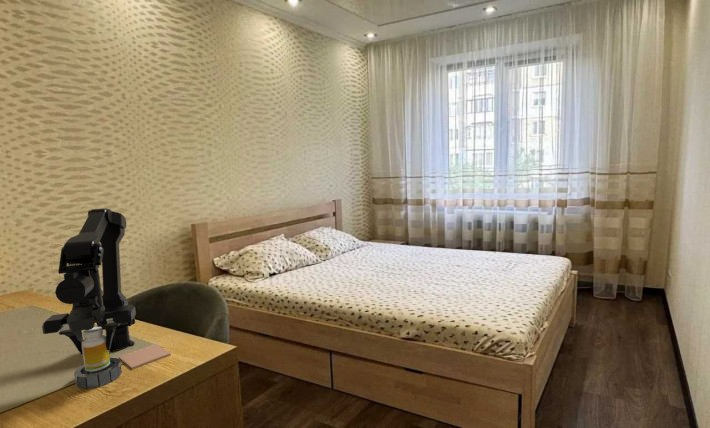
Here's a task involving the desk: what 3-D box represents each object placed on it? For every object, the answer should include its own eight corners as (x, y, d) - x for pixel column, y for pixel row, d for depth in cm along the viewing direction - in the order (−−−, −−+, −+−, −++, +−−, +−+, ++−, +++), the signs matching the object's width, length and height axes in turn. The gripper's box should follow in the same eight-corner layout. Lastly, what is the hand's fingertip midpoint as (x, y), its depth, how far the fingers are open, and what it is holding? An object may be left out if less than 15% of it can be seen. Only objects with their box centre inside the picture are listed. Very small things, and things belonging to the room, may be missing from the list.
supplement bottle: (113, 365, 102) (108, 328, 101) (88, 374, 98) (83, 336, 97) (106, 359, 106) (101, 323, 105) (82, 367, 102) (76, 330, 101)
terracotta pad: (118, 358, 113) (118, 356, 113) (156, 345, 120) (155, 343, 120) (132, 369, 106) (131, 367, 106) (170, 354, 114) (170, 353, 114)
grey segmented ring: (71, 380, 102) (70, 368, 102) (114, 364, 109) (112, 354, 109) (82, 393, 96) (80, 381, 95) (126, 376, 103) (125, 365, 102)
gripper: (26, 307, 89) (37, 374, 91) (122, 295, 95) (130, 358, 97) (47, 292, 100) (56, 353, 102) (132, 282, 105) (139, 340, 107)
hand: (95, 351), depth 102 cm, fingers closed on supplement bottle, 5 cm apart
